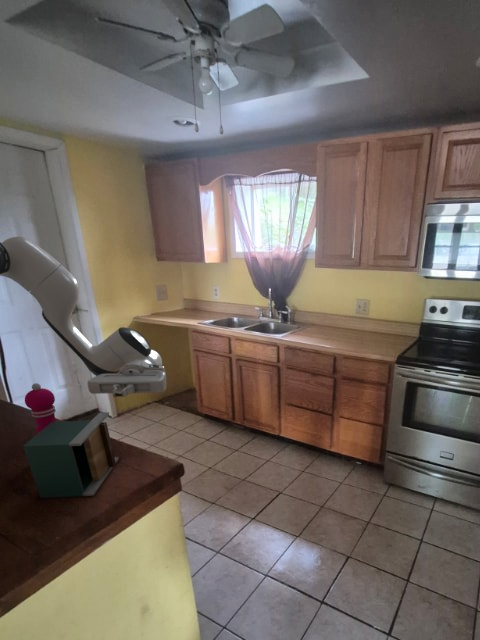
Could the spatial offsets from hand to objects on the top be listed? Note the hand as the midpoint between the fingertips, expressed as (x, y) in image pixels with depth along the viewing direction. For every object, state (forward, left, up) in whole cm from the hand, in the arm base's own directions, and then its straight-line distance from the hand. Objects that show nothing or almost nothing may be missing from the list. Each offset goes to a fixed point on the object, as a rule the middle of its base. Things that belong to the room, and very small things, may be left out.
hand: (118, 394), depth 97 cm
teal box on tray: (-5, -16, -14) cm, 22 cm away
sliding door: (0, -16, -13) cm, 21 cm away
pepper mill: (-16, -6, -15) cm, 22 cm away
